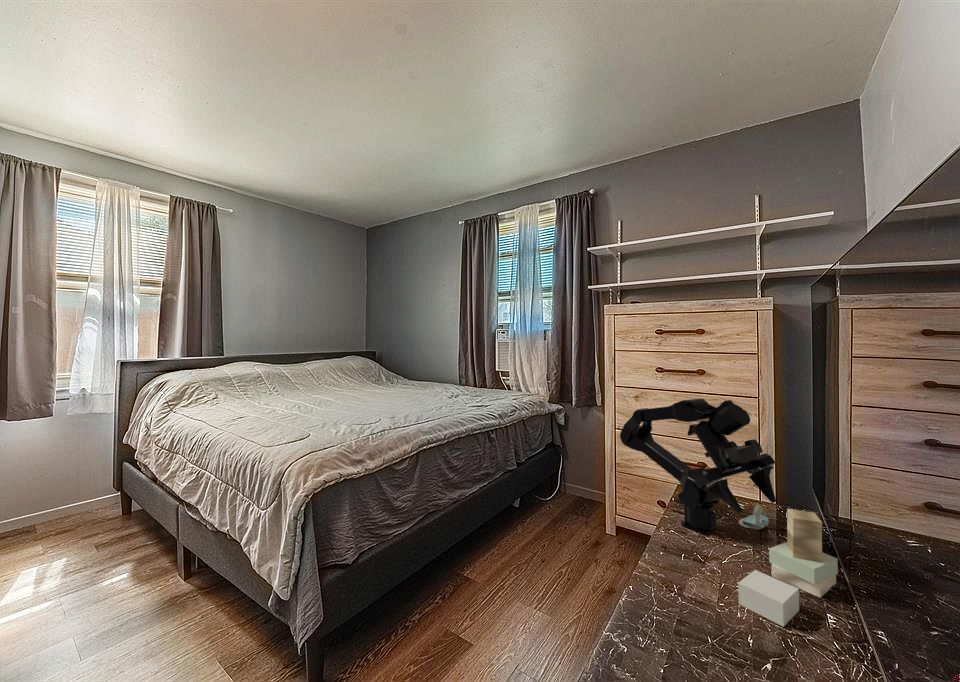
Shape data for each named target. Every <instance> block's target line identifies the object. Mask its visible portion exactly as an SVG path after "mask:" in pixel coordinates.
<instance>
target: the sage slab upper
mask: <svg viewBox="0 0 960 682" xmlns="http://www.w3.org/2000/svg"><path fill="white" fill-rule="evenodd" d="M768 552H769V554H768V557H769V558H768V559H769V563H770V564H771V565H772V564H773V565H775V566H777V567H779V568H781V569H784V570H786V571H788V572H790V573H792V574H794V575H796V576H798V577H800V578H802V579H804V580H806V581H808V582H810V583H812V584H814V585H815V584H817V583H819V582H821V581H823V580H825V579H827V578H830V577H832V576H834V575H836V576H837V575H838V573H839V569H838V568H839V566H838V565H839V564H838V558H837V557H835V556H832V555H829V554H828V553H824V552H823V551H822V563H821V562H816V561H811V560H806V559H801V558H796V557H793V556H792V554H791V552H790V550H789V548H788V546H787V541H785V542H783V543H780V544H777V545H775V546H772V547H770V548H769V549H768Z"/></svg>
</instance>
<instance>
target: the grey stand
mask: <svg viewBox="0 0 960 682" xmlns="http://www.w3.org/2000/svg"><path fill="white" fill-rule="evenodd" d="M737 587H738V590H737V592H738V605H741V606H742V607H744V608H746V609H748V610H750V611H752V612H754V613H756V614H758V615H759V616H761V617H764V618H766V619H767V620H769V621H772V622H774V623H775V624H777V625H779V626H781V627H783V628H784V627H785V626H786V625H787V624H788V623H789V622H790V621H791V620H792V619H793V618H794V617H795V616H796V615H797V614H798V613H799V611H800V589H799V588H797V587H795V586H793V585H790V584H788V583H786V582H783V581H781V580H779V579H777V578H774V577H772V576H770V575H768V574H765V573H763V572H761V571H759V570H756V569H754V570H753V571H751V572H750V573H749V574H748V575H745V577H744V578H742V580H740V581H738V584H737Z"/></svg>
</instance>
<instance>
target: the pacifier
mask: <svg viewBox="0 0 960 682" xmlns="http://www.w3.org/2000/svg"><path fill="white" fill-rule="evenodd" d="M762 513H763V507H762V505H761V504H759V503H757V504H756V505H755V506H754V509H753V512H752V514H751V515H748V516H747V517H743V518H741V519H739V520H738V525H740V526H741V527H742V528H745V529H752V530H761V529H764V528H765V527H767V526H769V523H770V520H769V518H768V517H767V515H764V514H762Z"/></svg>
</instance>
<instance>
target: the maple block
mask: <svg viewBox="0 0 960 682" xmlns="http://www.w3.org/2000/svg"><path fill="white" fill-rule="evenodd" d="M786 511H787V513H786V516H787V517H786V519H787V520H786V522H787V523H786V524H787V527H786V529H787V531H786V538H787V539H786V540H787V541H786V542H787V546H788V548H789V550H790V552H791V554H792V556H793V557H796V558H801V559H806V560H811V561H816V562H821V563H822V552H823V544H822V543H823V522H822V520H821V519H820V518H819V517H818V515H817V514H816V512H811V511H805V510H799V509H792V508H787V510H786Z"/></svg>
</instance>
